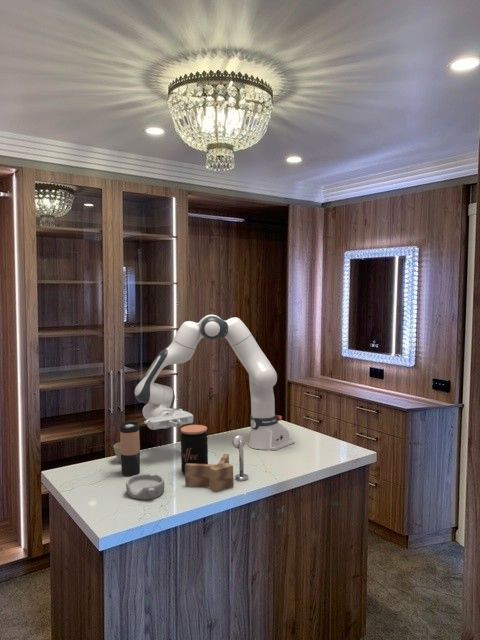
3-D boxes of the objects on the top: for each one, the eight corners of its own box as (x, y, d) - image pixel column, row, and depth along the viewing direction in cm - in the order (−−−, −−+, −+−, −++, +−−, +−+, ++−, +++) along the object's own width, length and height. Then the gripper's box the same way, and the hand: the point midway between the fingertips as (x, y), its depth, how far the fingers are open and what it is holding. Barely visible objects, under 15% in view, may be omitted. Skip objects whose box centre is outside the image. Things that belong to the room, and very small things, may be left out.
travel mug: (134, 468, 200) (132, 420, 199) (144, 473, 195) (142, 424, 193) (117, 473, 195) (116, 424, 194) (127, 478, 189) (126, 428, 188)
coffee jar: (176, 472, 194) (175, 428, 193) (195, 465, 202) (195, 423, 201) (193, 479, 187) (192, 433, 186) (213, 471, 195) (212, 427, 194)
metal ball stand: (243, 475, 191) (242, 434, 190) (250, 479, 186) (250, 437, 186) (232, 478, 188) (231, 436, 187) (240, 482, 184) (239, 439, 183)
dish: (157, 502, 168) (157, 488, 167) (119, 500, 170) (119, 486, 170) (170, 485, 182) (170, 472, 182) (135, 484, 184) (135, 471, 184)
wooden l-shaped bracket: (227, 472, 193) (226, 453, 193) (246, 482, 183) (245, 462, 182) (183, 484, 182) (183, 464, 181) (201, 496, 171) (200, 474, 171)
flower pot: (131, 465, 203) (131, 449, 203) (109, 464, 205) (109, 447, 205) (141, 457, 213) (140, 441, 213) (120, 456, 215) (119, 440, 215)
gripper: (142, 414, 209) (156, 421, 197) (184, 407, 220) (199, 414, 209) (142, 428, 209) (156, 436, 198) (184, 421, 221) (199, 428, 209)
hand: (178, 424), depth 203 cm, fingers closed
